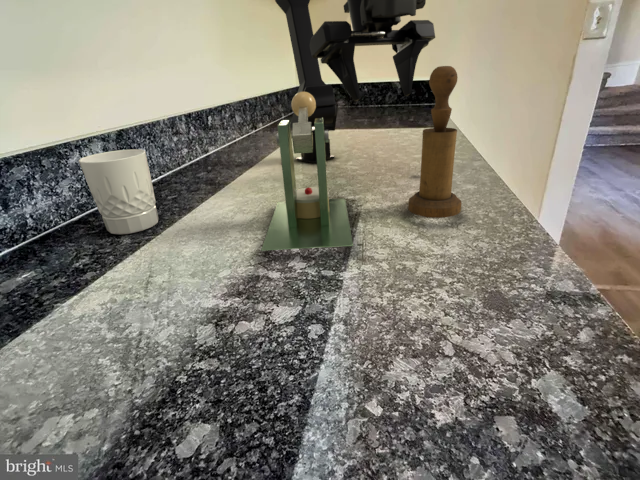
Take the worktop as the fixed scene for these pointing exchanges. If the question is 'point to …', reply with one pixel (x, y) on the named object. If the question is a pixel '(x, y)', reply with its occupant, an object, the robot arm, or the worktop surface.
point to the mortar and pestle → (438, 154)
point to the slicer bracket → (285, 221)
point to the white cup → (122, 189)
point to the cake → (308, 203)
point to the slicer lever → (303, 122)
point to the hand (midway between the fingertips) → (383, 97)
